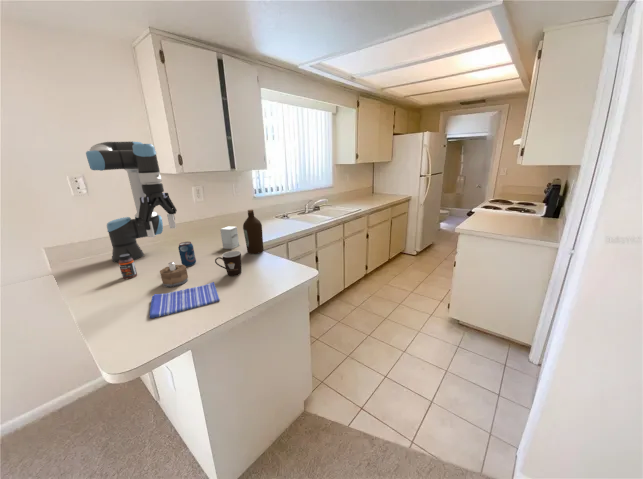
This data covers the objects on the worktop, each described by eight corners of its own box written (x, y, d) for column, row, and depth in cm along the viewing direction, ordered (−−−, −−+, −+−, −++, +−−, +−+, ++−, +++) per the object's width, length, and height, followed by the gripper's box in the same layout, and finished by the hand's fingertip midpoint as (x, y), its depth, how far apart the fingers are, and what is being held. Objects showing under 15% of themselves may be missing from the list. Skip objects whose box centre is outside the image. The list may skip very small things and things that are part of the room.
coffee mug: (247, 270, 130) (244, 251, 127) (236, 278, 122) (233, 257, 119) (227, 268, 134) (224, 249, 131) (216, 275, 126) (212, 255, 123)
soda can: (190, 267, 138) (186, 245, 134) (179, 266, 139) (174, 245, 136) (199, 262, 144) (195, 241, 141) (188, 261, 146) (183, 241, 142)
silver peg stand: (158, 287, 117) (153, 267, 114) (173, 277, 126) (168, 258, 123) (178, 287, 115) (174, 267, 113) (192, 277, 125) (188, 259, 122)
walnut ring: (157, 284, 116) (154, 273, 115) (172, 274, 126) (170, 264, 124) (178, 284, 115) (175, 273, 114) (191, 274, 125) (189, 264, 123)
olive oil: (262, 247, 164) (258, 207, 156) (266, 252, 154) (261, 210, 147) (245, 250, 160) (239, 209, 152) (247, 255, 150) (241, 212, 143)
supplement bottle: (121, 280, 126) (115, 258, 122) (123, 275, 131) (117, 254, 127) (136, 277, 128) (130, 255, 125) (138, 273, 133) (132, 252, 130)
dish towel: (153, 300, 107) (151, 293, 106) (215, 285, 117) (214, 279, 116) (149, 321, 92) (147, 314, 91) (220, 302, 102) (219, 296, 102)
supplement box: (232, 249, 163) (229, 229, 159) (222, 248, 166) (219, 229, 162) (239, 245, 170) (237, 226, 166) (230, 244, 172) (227, 226, 168)
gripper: (136, 186, 97) (149, 241, 104) (179, 180, 121) (188, 224, 127) (118, 187, 98) (132, 241, 105) (164, 180, 122) (173, 224, 128)
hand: (163, 232), depth 116 cm, fingers open, 13 cm apart
